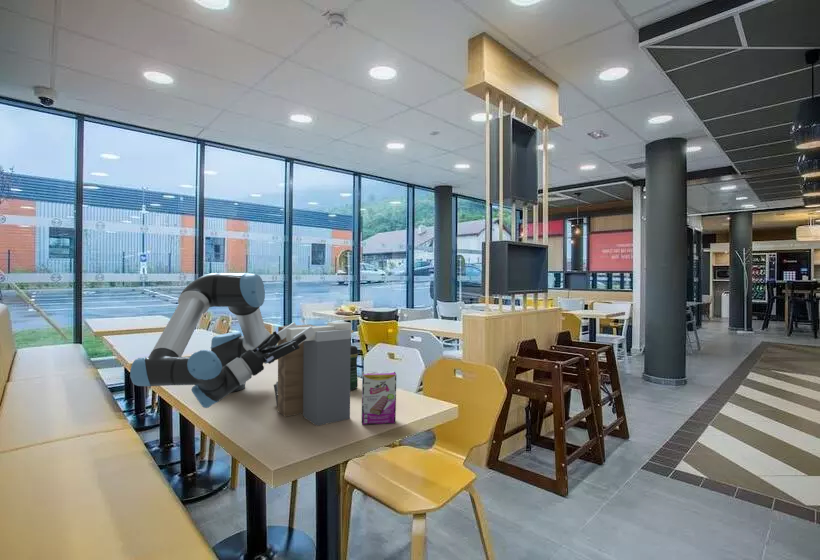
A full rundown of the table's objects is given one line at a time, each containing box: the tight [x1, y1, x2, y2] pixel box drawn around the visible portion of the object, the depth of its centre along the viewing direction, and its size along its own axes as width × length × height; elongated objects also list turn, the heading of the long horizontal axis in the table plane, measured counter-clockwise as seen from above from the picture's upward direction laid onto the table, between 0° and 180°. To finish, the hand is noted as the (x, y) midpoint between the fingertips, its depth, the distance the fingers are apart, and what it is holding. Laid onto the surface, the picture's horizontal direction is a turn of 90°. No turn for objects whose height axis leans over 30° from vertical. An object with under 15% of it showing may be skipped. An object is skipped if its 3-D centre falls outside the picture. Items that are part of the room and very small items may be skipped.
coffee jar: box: [350, 345, 359, 391], centre depth 183 cm, size 10×8×19 cm
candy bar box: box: [360, 370, 397, 426], centre depth 141 cm, size 11×5×16 cm, turn 99°
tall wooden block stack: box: [277, 324, 315, 417], centre depth 152 cm, size 7×12×30 cm, turn 127°
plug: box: [286, 320, 355, 341], centre depth 144 cm, size 6×22×5 cm, turn 127°
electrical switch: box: [273, 381, 278, 406], centre depth 161 cm, size 9×5×9 cm, turn 141°
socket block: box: [302, 329, 352, 426], centre depth 145 cm, size 11×12×30 cm
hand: (304, 327), depth 140 cm, fingers open, 13 cm apart
